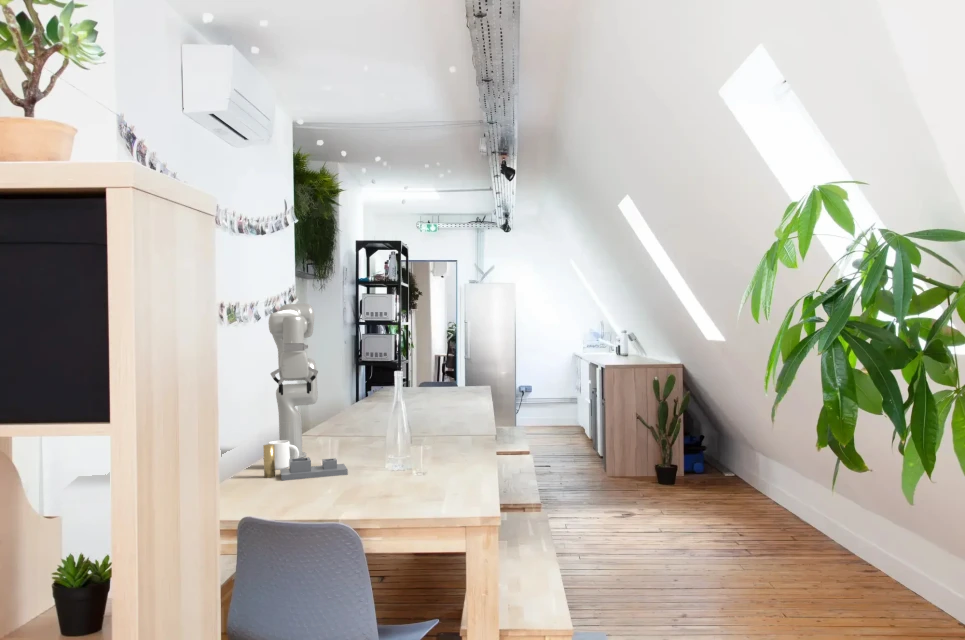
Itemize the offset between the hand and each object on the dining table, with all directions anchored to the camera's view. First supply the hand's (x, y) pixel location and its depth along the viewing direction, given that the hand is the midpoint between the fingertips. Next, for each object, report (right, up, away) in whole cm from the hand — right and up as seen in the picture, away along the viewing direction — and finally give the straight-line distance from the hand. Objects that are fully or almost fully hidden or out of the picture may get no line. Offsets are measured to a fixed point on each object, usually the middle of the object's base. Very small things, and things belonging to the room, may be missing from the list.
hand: (295, 394), depth 273 cm
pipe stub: (-10, -31, +2) cm, 33 cm away
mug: (-9, -32, +20) cm, 38 cm away
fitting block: (+6, -31, +4) cm, 32 cm away
